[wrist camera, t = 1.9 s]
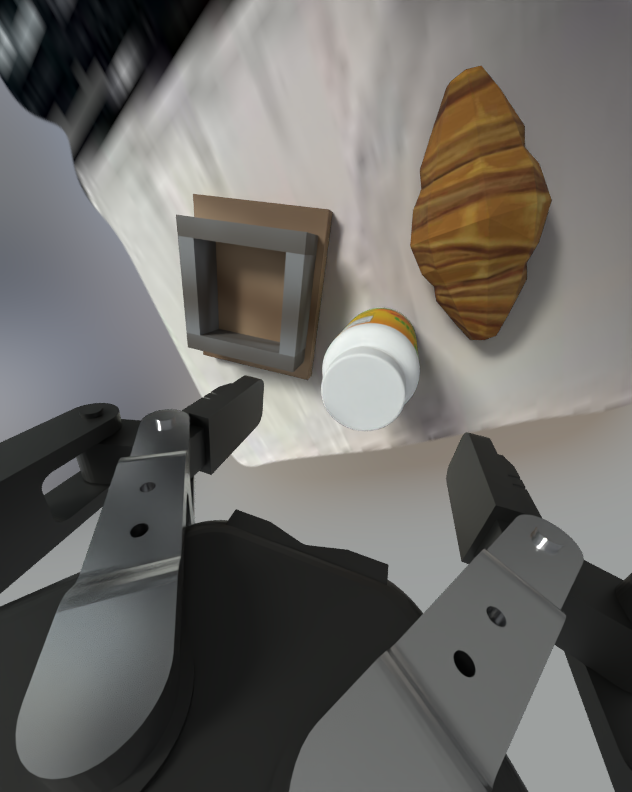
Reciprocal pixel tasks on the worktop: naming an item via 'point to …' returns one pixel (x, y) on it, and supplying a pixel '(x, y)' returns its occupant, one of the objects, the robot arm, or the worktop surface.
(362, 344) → the supplement bottle
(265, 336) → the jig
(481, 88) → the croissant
